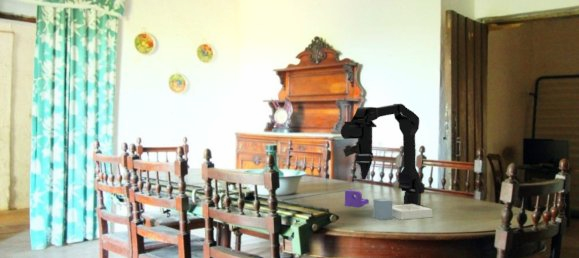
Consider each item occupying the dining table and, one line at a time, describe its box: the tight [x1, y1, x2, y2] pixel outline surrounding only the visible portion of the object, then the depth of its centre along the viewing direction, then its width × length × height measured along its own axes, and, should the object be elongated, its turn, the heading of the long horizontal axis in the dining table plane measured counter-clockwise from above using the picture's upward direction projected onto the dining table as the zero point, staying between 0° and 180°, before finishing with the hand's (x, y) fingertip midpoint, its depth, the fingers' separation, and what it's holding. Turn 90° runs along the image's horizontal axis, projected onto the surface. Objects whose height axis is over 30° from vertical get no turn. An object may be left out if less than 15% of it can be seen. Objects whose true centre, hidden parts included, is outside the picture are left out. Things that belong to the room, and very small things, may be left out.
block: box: [373, 198, 393, 221], centre depth 175 cm, size 5×5×7 cm
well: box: [392, 203, 433, 221], centre depth 181 cm, size 14×12×3 cm
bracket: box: [344, 189, 370, 208], centre depth 203 cm, size 12×7×7 cm, turn 153°
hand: (364, 177), depth 184 cm, fingers open, 9 cm apart
